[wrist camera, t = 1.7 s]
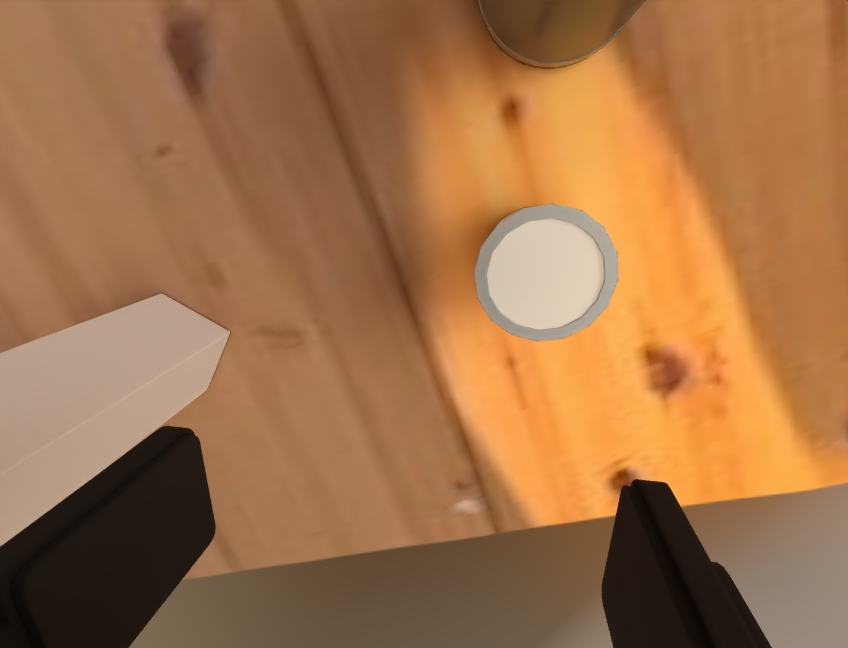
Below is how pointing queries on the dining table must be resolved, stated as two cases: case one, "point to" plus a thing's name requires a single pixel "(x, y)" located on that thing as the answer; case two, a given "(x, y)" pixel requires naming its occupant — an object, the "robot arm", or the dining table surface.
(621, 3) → the green can
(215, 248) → the dining table surface
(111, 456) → the milk
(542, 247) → the shot glass
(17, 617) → the robot arm
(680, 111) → the dining table surface
